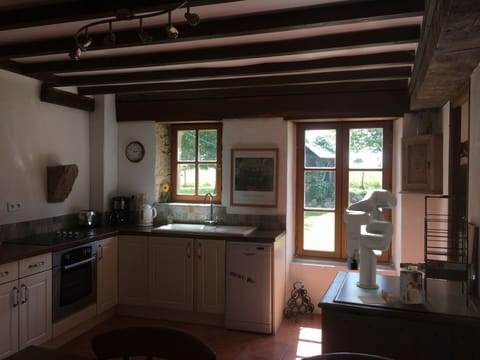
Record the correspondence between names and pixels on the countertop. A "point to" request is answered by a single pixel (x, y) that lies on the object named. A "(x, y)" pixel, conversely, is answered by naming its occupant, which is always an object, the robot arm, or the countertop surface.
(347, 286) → the countertop surface
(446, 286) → the countertop surface
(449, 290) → the countertop surface
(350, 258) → the block
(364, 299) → the mat
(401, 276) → the coffee box
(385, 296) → the rail
